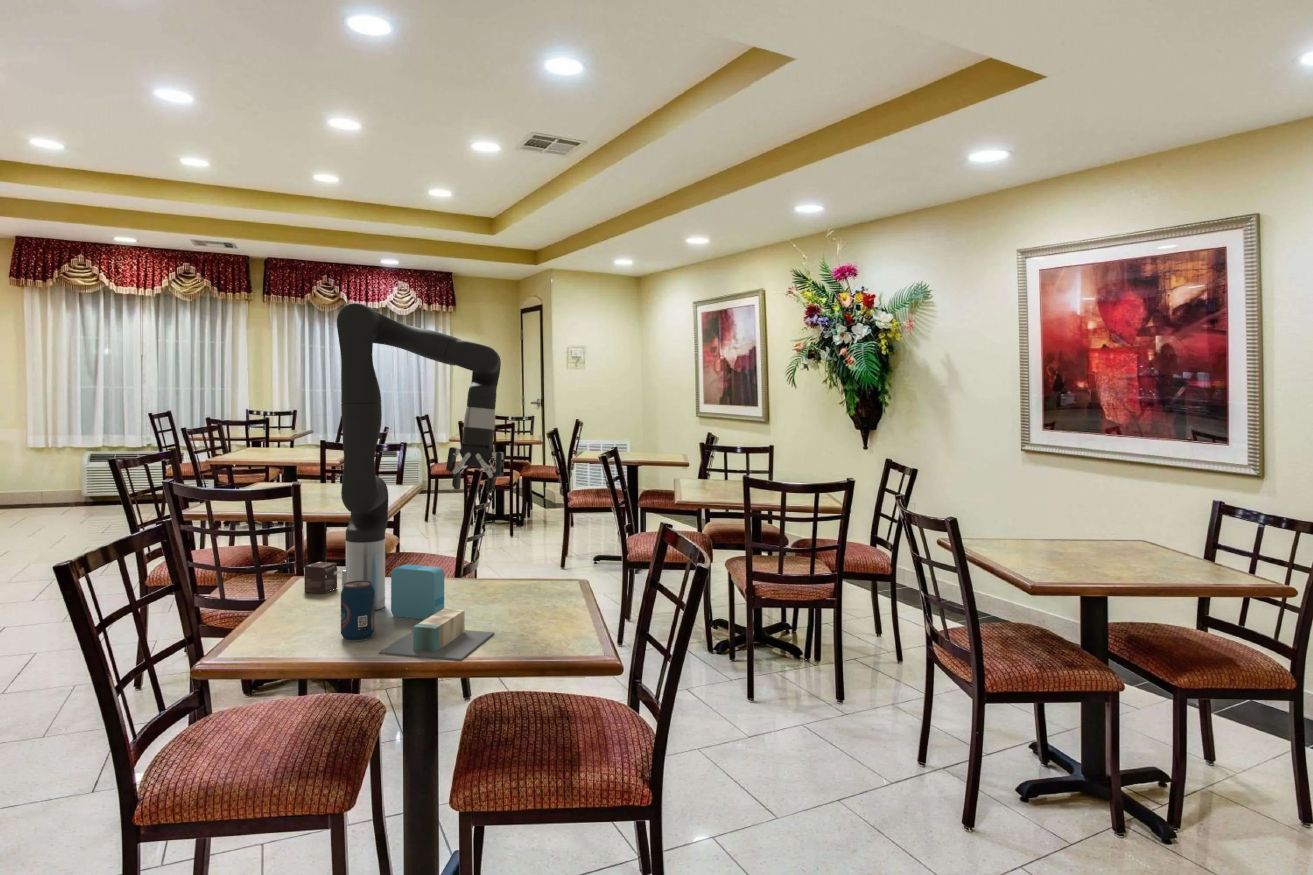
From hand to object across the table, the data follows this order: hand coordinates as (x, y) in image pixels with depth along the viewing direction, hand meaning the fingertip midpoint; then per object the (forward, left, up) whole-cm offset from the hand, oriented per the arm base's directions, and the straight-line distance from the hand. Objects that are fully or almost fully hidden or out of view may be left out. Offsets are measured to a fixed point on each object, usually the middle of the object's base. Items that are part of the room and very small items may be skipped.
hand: (472, 491), depth 191 cm
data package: (-10, -9, -30) cm, 33 cm away
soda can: (-15, -27, -30) cm, 43 cm away
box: (-46, +7, -30) cm, 55 cm away
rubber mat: (+4, -27, -30) cm, 40 cm away
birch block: (+4, -19, -27) cm, 33 cm away
